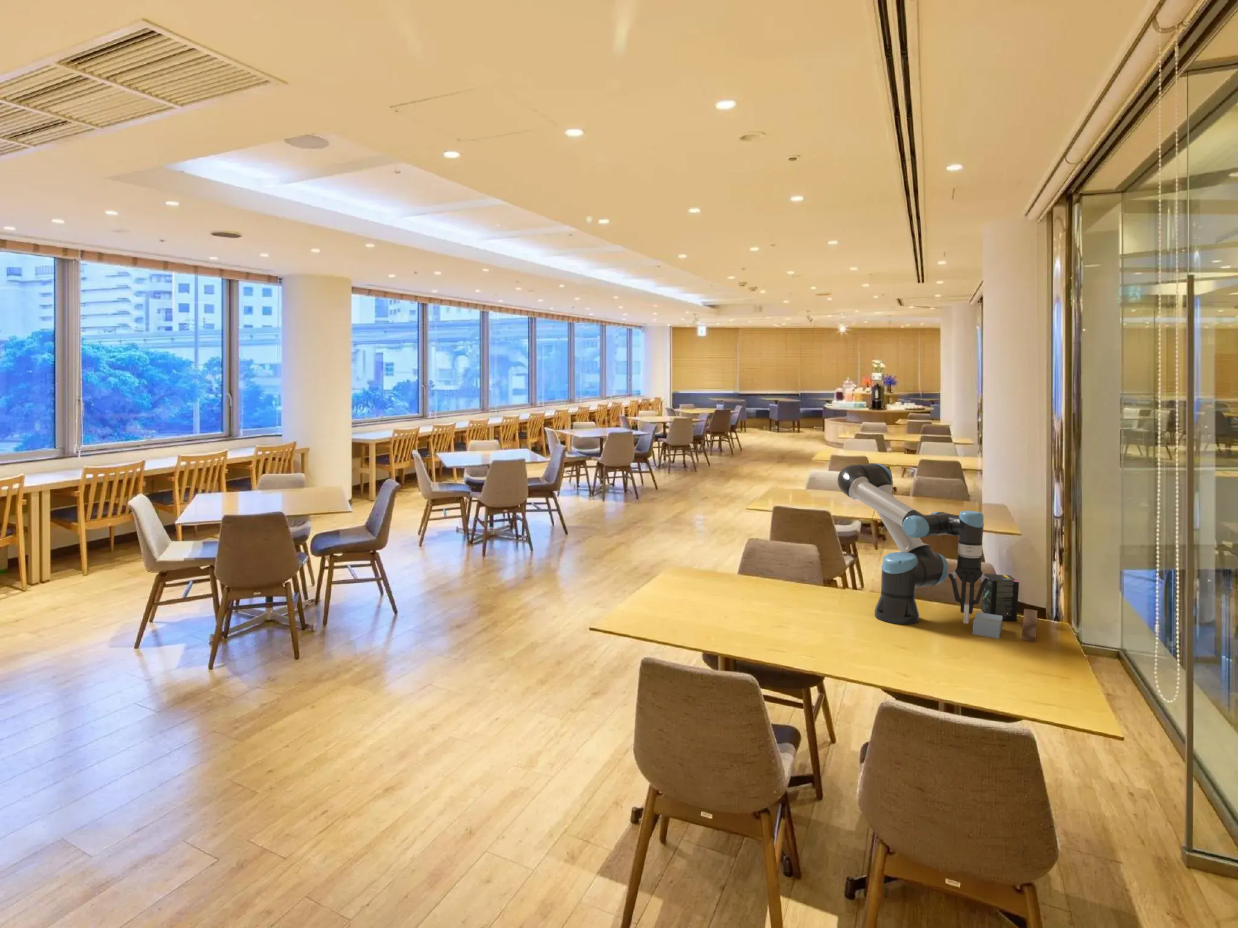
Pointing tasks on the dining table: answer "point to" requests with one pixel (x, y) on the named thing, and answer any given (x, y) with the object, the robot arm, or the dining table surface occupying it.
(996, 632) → the block
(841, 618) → the dining table surface
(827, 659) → the dining table surface
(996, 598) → the tampon box
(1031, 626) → the walnut board
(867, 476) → the robot arm
